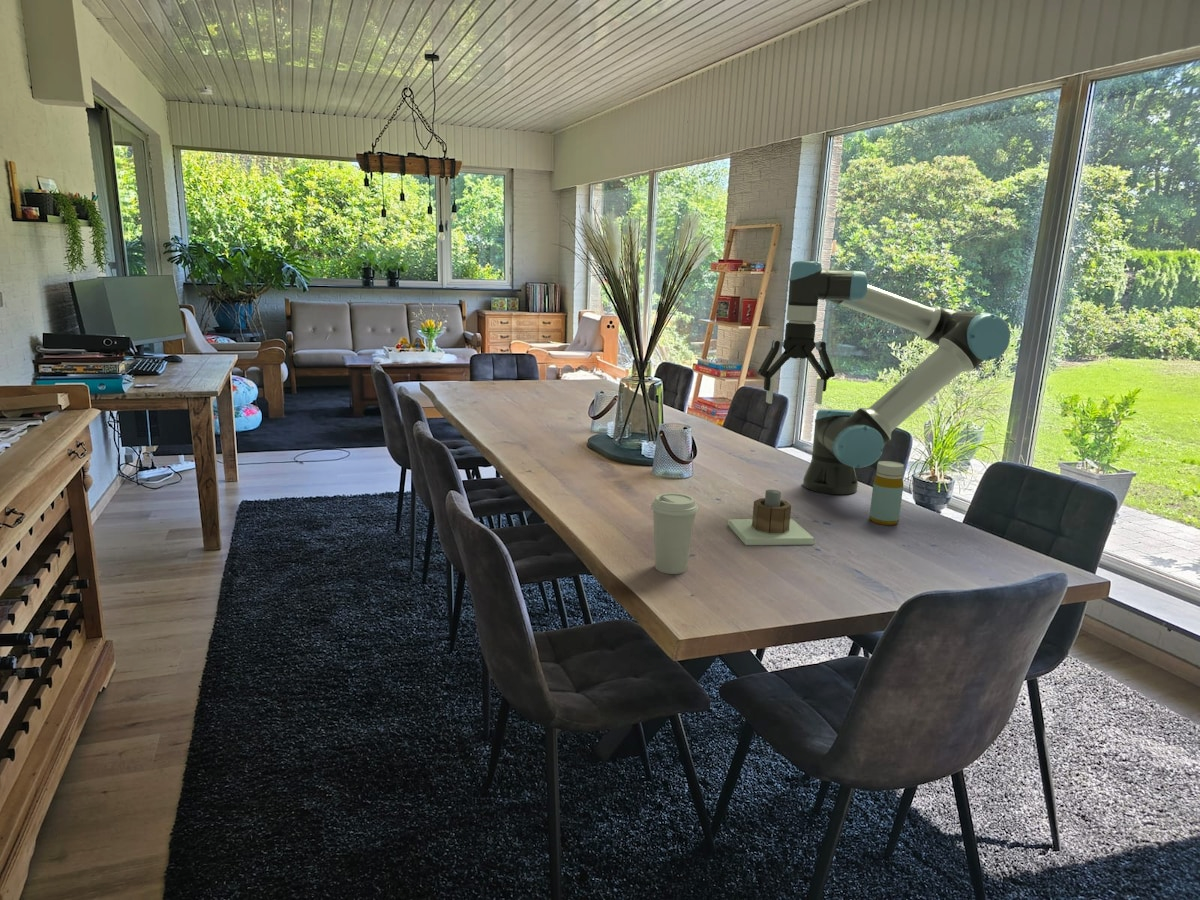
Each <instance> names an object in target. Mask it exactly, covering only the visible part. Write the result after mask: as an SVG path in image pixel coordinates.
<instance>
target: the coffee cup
mask: <svg viewBox="0 0 1200 900" xmlns="http://www.w3.org/2000/svg"><path fill="white" fill-rule="evenodd" d="M650 508H651V510H652V513H653V514H652V515H653V538H654V540H653V541H654V563H655V564H654V567H655V569H656V570H657V571H658V572H660V573H662V574H668V575H680V574H684V573H686V572H687V570H688V563H689V559H690V558H689V557H690V552H691V546H692V538H693V531H694V525H695V519H696V514H697V513H698V511H699V507H698V504H697V503H696V499H695V498H694V497H693V496H692V495H688V494H685V493H678V492H676V493H675V492H665V493H660V494H657V495H656V496H655V498H654V500H653V501H652V503H651V505H650Z"/></svg>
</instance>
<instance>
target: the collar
mask: <svg viewBox="0 0 1200 900" xmlns="http://www.w3.org/2000/svg"><path fill="white" fill-rule="evenodd" d="M752 507H753V508H752V509H753V510H752V518H751V519H752V526H753V527H754V528H755V529H756V530H758V531H762V532H766V533H784V532H786V531H788V530H789V524H790V519H791V513H792V512H791V511H792V504H791V503H790V502H789V501H787V500H783V499H780V507H770V506H766V505H765V497H764V498H762V497H761V498H757V499H755V500H754V501H753V506H752Z"/></svg>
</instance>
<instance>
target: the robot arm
mask: <svg viewBox="0 0 1200 900" xmlns="http://www.w3.org/2000/svg"><path fill="white" fill-rule="evenodd" d="M788 280H789V284H788V285H789V286H788V288H789V289H788V299H787V300H788V301H787V310H786V320H787V321H788V322H787V323H785V330H784V331H785V333H784V340H783V341H780V340H776V339H773V340H772V341H771V342H772V343H771V348H770V350H769V352H768V353H767V355H766V357H765V359H764V361H763V362H762V363H761V366H760V367H759V369H758V371H757V375H758V376H761V377H763V379H764V381H763V390H764V391H766V395H765V403H767V404H768V405H769V404H770V405H771V404H773V399H774V398H773V396H774V385H775V384H774V383H775V378H772V377H773V376H774V375H775V374H776V373H777V372H778V371H779V370H780V369H781V368H782V367H783V365H785V363H786V362H787V361H788V360H790V359H802V360H803V359H804V360H805V359H806V360H808V362H809V363H810V365H811V366H812V368H813V369H814V371H815V372H816V373H817V375H818V376H819V377H820V378H816V387H815V388H816V389H815V398H814V404H817V405H822V403H823V394H824V393H823V392H826V391H827V387H828V386H827V385H828V381H829V380H830V379H831V378H834V377H835V376H836V374H835V373H836V372H835V371H834V368H833V365H832V363H831V360H830V358H829V355H828V353H827V343H826V342H825V341H822V340H820V341H817V342H816V341H815V337H816V327H817V326H816V323H814V322H816V321H817V316H818V306H819V300H821V301H824V300H826V301H828V302H832V303H833V304H834V303H835V304H838V305H840V306H842V307H846V308H849V309H852V310H854V311H857V312H859V313H863V314H864V315H868V316H871V317H873V318H876V319H878V320H882V321H884V322H886V323H889V324H892V325H895V326H898V327H900V328H903V329H906V330H908V331H911V332H914V333H917V334H918V336H919V338H920V339H922V340H926V341H928V342H929V343H930V342H931V343H932V344H934V345H936V346H938V348H936V349H935V350H934V351H933V352H932V353H931V354H930V355H929V356H927V357H926V358H925V359H924V360H923V361H921V363H919V365H917V366H916V367H915V368H914V369H912V370H911V371H910V372H909V373H907V375H905V377H903V378H902V379H901V380H900V381H898V382H897V383H896V384H895V385H894V386H892V388H890V389H888V391H887V392H886V393H885V394H884V395H882V396H881V397H880V398H879V399H878V400H877V401H875V402H874V403H873V404H872V405H870V406H869V407H867V408H866V407H859V408H858V409H857V410H851V409H850V410H849V409H827V408H826V409H819V410H818V411H817V412H816V416H815V419H814V432H813V444H812V454H811V461H810V463H809V465H808V467H807V469H806V472H805V474H804V475H803V480H802V482H803V483H802V485H803V487H804V488H806V489H807V490H810V491H812V492H813V491H814V492H817V493H821V494H827V495H828V494H830V495H848V494H849V495H850V494H853V493H854V494H855V493H856V492H857V491H858V486H859V485H858V478H857V475H856V470H855V468H857V469H858V468H866V467H869V466H872V465H873V464H874V463H876V462H878V460H879V459H880V458H881V457H882V454H883V452H884V447H885V445H887V444H888V443H889V442H890V441H891V440H892V432H893V431H894V430H895V429H896V428H897V427H899V426H900V425H901V424H902V423H903V422H904V421H906V420H907V419H908V418H909V417H910V416H912V415H913V414H914V413H915V412H917V410H919V409H920V408H921V407H922V406H924V404H925V403H927V402H928V401H929V400H930V399H931V398H932V397H934V396H935V395H937V394H938V392H939V391H941V390H942V389H943V388H945V386H947V385H948V384H949V383H950V382H952V381H953V380H954V379H955V378H956V377H957V376H958V375H960V373H962V372H973V371H974V370H975V369H976V368H977V367H978V366H979V365H981V364H982V363H983V362H984V361H992V360H996V359H998V358H999V357H1001V356H1003V354H1004V353H1005V352H1006V350H1007V349H1008V347H1009V345H1010V342H1011V339H1010V338H1011V329H1010V328H1009V325H1008V323H1007V322H1006V321H1005V319H1004V318H1002V316H999V315H997V314H993V313H991V312H978V311H977V312H975V311H968V310H958V309H957V310H955V309H948V308H945V307H941V306H939V305H932V306H927V305H924V304H922V303H919V302H917V301H914V300H911V299H908V298H906V297H903V296H901V295H900V296H899V295H898V294H895V293H892V292H889V291H886V290H883V289H881V288H878V287H876V286H872V285H870V284H869V279H868V276H867V274H866V272H865V271H859V270H846V269H845V270H843V269H841V270H837V269H832V270H831V269H830V270H827V269H823V267H822V263H821V262H820V261H814V260H813V261H811V260H810V261H809V260H806V261H805V260H797V261H794V262H793V263H792V264H791V269H790V275H789V279H788ZM782 347H783V349H784V351H783V352H782V353H781V355H780V356H779V357H778V359H777V360H775V362H774V359H776V356H777V355H778V352H779V350H781V349H782ZM814 349H815V350H817V351H818V355H819V357H820V360H821V363H822V365H823V367H822V366H821V364H820V363H819V361H818V360H817V358H816V357H815V356H816V355H814V353H813V352H812V351H813V350H814ZM773 362H774V363H773ZM772 363H773V364H772ZM823 368H824V369H823Z"/></svg>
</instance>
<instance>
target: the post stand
mask: <svg viewBox="0 0 1200 900" xmlns="http://www.w3.org/2000/svg"><path fill="white" fill-rule="evenodd" d="M781 496H782V492H781V491H780V490H779V489H778V490H777V489H767V490H765V495H764V498H765V505H766V506H770V507H780V500H782V499H781V498H782V497H781ZM752 519H753V518H751V519H750V518H747V519H744V518H740V519H738V518H736V519H735V518H734V519H733V518H731V519H730V518H729V519H728V527H729V528H730V529H731V530H732V531H733V532H734V533H735V535H736V536H737V538H739V539H740V540H741V542H743V544H744V545H745V546H787V545H788V546H789V545H791V546H793V545H794V546H797V545H799V546H801V545H814V543H815V537H813V536H812V535H811V534H810V533H809V532H808V531H807V530H805V529H804V527H802V526H801V525H800V524H799V523H797V521H795V520H794V519H793V518H790V524H789V530H788V531H786V532H784V533H766V532H762V531H758V530H756V529H755V528H754V527H753V526H752Z"/></svg>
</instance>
